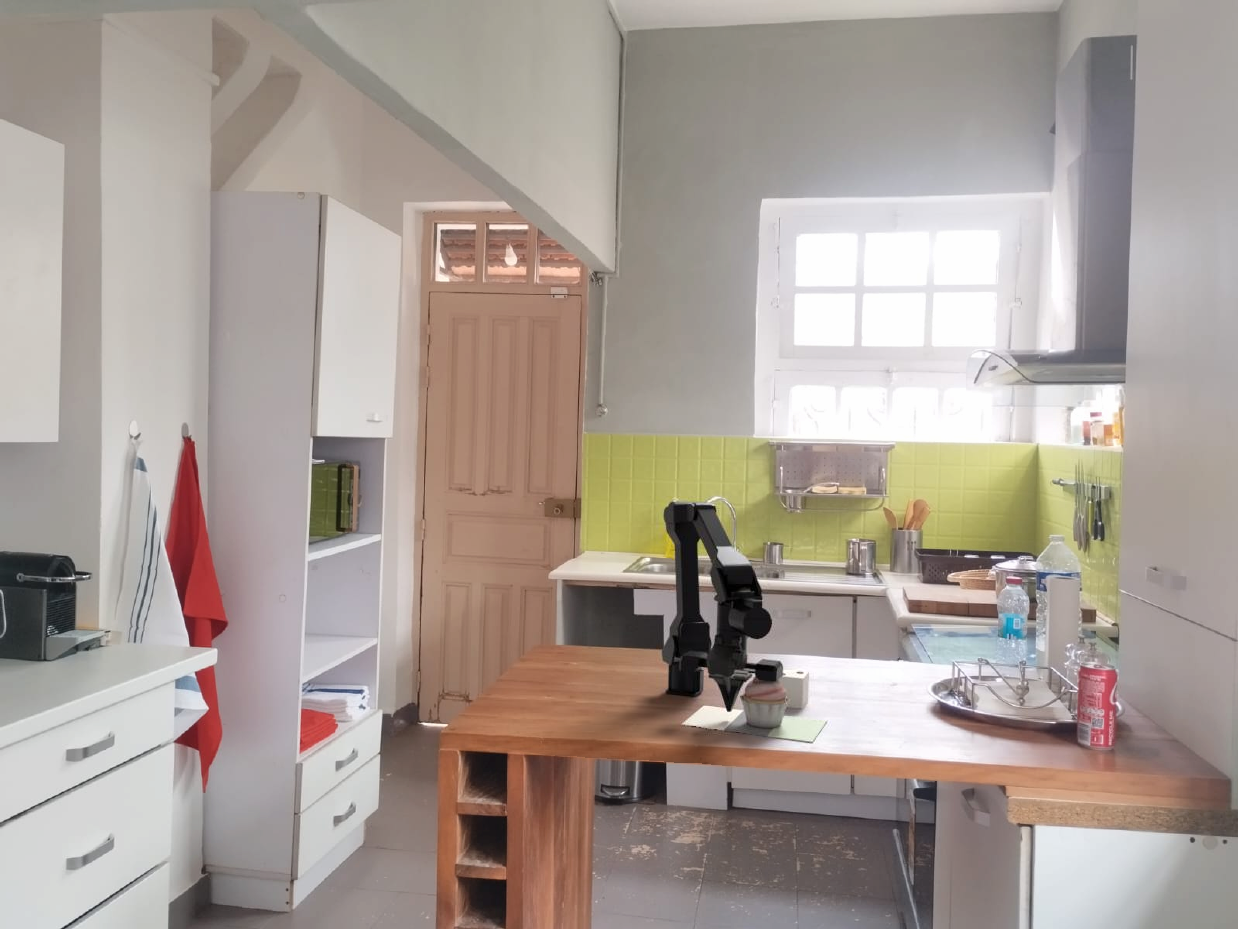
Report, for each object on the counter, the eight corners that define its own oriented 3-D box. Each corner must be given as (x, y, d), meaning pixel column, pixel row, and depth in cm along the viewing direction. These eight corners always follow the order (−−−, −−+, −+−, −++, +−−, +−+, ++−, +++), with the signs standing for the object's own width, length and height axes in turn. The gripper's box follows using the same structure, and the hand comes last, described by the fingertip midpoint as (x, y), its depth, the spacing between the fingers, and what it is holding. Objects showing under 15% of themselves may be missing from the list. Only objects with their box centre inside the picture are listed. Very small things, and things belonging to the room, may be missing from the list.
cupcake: (789, 733, 175) (791, 677, 175) (737, 729, 176) (738, 674, 176) (790, 718, 184) (791, 666, 184) (740, 715, 186) (741, 663, 185)
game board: (681, 725, 179) (681, 724, 179) (704, 706, 192) (704, 705, 192) (812, 743, 170) (812, 741, 170) (826, 722, 183) (826, 721, 183)
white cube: (772, 705, 194) (773, 674, 194) (778, 698, 200) (779, 668, 199) (802, 709, 192) (803, 678, 192) (808, 701, 197) (809, 671, 197)
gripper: (670, 630, 178) (667, 715, 179) (770, 641, 171) (767, 729, 172) (689, 621, 189) (687, 701, 189) (784, 630, 182) (782, 714, 182)
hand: (729, 711), depth 183 cm, fingers closed
